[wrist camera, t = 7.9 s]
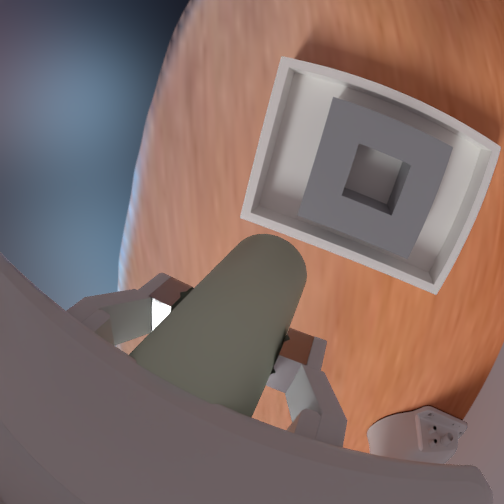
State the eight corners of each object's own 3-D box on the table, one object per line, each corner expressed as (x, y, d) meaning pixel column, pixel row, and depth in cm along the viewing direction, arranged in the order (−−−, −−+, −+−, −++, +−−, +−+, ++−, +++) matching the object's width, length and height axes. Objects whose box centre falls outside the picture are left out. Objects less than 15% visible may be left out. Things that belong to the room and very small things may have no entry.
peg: (317, 251, 13) (254, 415, 5) (292, 315, 15) (226, 465, 7) (239, 222, 14) (105, 337, 6) (224, 288, 16) (123, 410, 8)
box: (485, 144, 22) (507, 148, 17) (429, 278, 30) (439, 302, 26) (290, 64, 26) (277, 52, 22) (252, 208, 35) (234, 221, 30)
